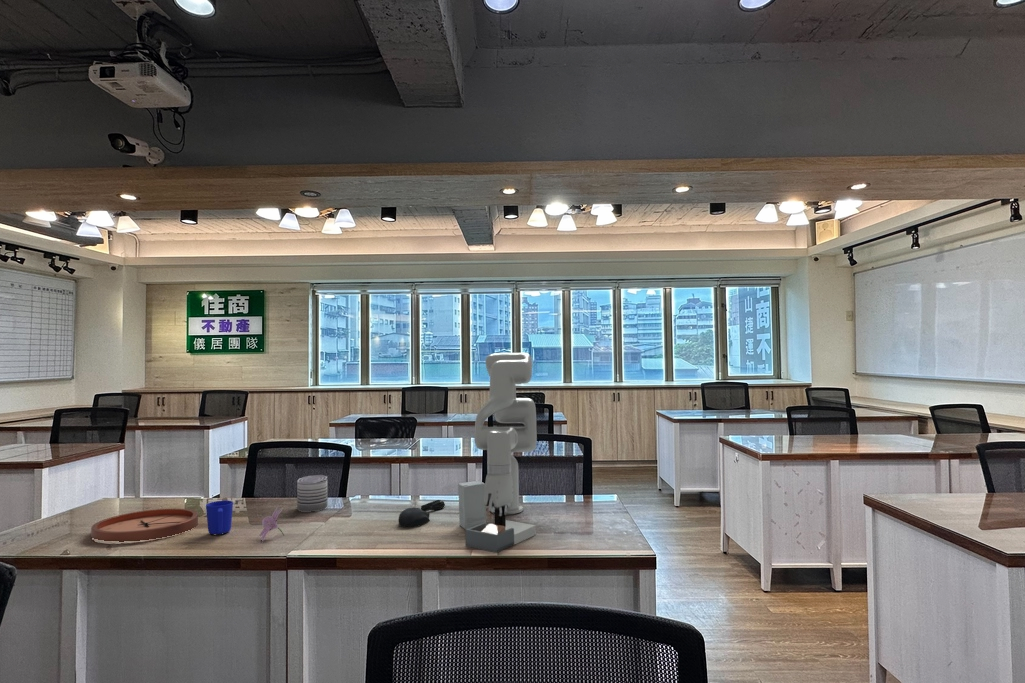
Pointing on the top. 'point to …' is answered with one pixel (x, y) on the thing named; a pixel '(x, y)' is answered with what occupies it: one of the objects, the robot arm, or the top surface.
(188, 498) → the top surface
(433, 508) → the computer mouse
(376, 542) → the top surface
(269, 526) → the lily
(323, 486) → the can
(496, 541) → the bin
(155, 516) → the clock
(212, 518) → the mug
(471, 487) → the skincare box
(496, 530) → the tile
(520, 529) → the plate
